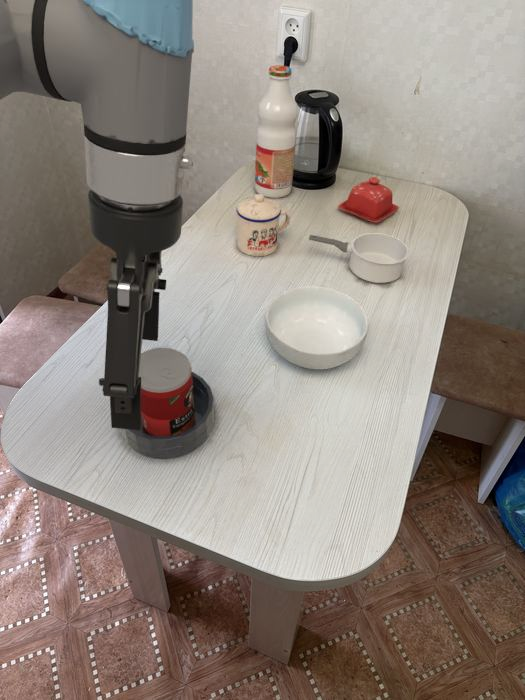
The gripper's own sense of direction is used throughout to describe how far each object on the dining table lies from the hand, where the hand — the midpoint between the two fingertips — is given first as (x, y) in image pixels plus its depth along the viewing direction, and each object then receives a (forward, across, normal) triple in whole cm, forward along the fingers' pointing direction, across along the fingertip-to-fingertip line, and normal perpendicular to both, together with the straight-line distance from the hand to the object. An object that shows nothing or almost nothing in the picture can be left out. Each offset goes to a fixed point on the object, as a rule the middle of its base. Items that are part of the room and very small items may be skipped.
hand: (137, 378), depth 55 cm
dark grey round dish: (+18, +10, -3) cm, 21 cm away
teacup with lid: (+14, +58, -18) cm, 62 cm away
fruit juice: (+12, +84, -21) cm, 87 cm away
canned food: (+18, +10, -3) cm, 20 cm away
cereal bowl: (+15, +26, -26) cm, 39 cm away
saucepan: (+12, +50, -36) cm, 63 cm away
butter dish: (+10, +74, -44) cm, 86 cm away
